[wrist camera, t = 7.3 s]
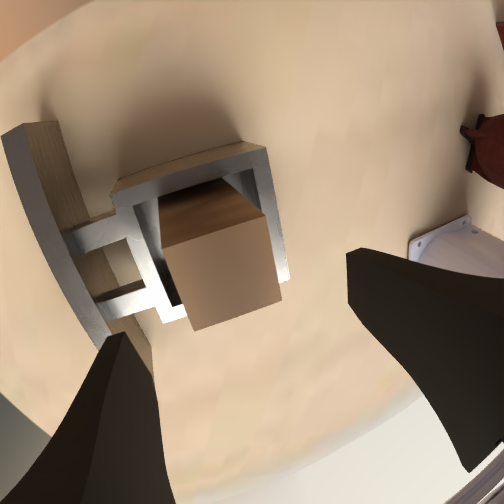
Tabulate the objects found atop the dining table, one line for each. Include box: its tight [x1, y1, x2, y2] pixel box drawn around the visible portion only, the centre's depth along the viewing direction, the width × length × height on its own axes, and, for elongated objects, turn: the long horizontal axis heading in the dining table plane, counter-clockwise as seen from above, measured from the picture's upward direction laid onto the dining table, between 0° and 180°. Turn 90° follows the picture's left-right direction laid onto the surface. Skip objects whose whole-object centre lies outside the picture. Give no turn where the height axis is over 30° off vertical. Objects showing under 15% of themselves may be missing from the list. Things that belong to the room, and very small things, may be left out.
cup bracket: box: [1, 121, 290, 387], centre depth 15 cm, size 11×16×5 cm
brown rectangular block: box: [157, 177, 282, 331], centre depth 14 cm, size 4×4×7 cm
